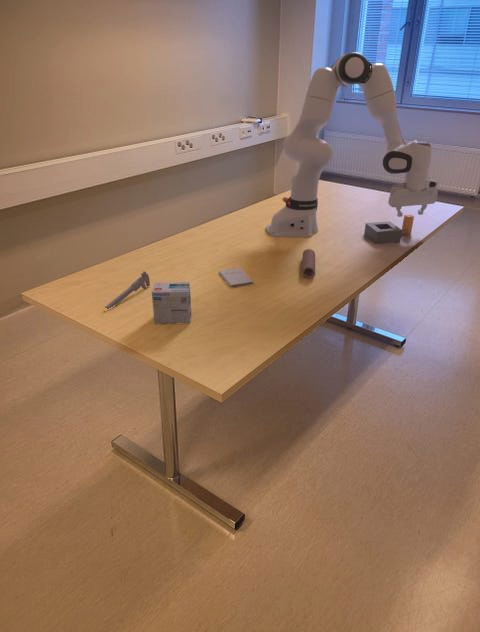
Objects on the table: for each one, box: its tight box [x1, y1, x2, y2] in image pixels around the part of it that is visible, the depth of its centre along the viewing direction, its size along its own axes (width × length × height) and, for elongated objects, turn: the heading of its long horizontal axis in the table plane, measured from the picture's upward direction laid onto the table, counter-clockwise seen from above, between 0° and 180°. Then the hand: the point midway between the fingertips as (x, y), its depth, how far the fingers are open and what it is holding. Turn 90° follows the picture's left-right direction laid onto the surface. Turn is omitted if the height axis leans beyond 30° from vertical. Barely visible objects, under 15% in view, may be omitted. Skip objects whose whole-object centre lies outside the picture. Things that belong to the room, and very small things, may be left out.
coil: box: [301, 248, 316, 280], centre depth 182 cm, size 5×5×18 cm
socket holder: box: [364, 221, 403, 245], centre depth 209 cm, size 11×11×5 cm
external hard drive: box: [218, 267, 254, 288], centre depth 175 cm, size 2×8×12 cm
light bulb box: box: [151, 281, 192, 324], centre depth 147 cm, size 11×7×11 cm, turn 92°
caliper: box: [104, 271, 151, 309], centre depth 160 cm, size 21×1×6 cm, turn 148°
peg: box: [401, 214, 415, 237], centre depth 212 cm, size 4×4×8 cm
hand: (410, 215), depth 211 cm, fingers open, 8 cm apart
